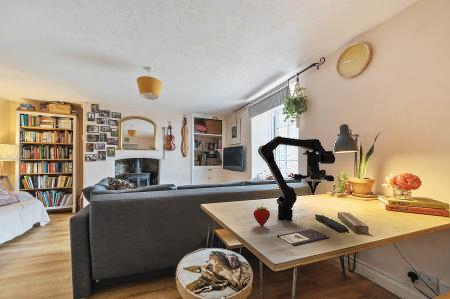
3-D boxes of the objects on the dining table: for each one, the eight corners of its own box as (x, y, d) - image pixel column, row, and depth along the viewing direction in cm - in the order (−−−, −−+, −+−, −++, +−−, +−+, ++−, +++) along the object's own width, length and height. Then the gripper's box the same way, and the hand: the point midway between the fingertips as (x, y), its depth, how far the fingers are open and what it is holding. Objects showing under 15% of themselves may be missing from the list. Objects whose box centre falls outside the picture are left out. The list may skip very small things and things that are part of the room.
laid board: (353, 232, 86) (353, 224, 86) (337, 217, 106) (337, 211, 106) (368, 233, 85) (368, 225, 85) (349, 218, 105) (349, 212, 105)
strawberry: (251, 224, 94) (251, 202, 94) (266, 223, 95) (266, 201, 96) (256, 228, 88) (256, 205, 88) (272, 227, 90) (272, 204, 90)
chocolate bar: (329, 236, 80) (293, 244, 72) (329, 239, 80) (293, 247, 72) (311, 228, 88) (277, 235, 80) (311, 231, 88) (277, 237, 80)
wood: (356, 234, 85) (356, 226, 86) (339, 234, 85) (340, 226, 85) (324, 217, 107) (324, 211, 108) (311, 217, 107) (311, 212, 107)
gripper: (295, 164, 99) (295, 196, 99) (338, 165, 95) (338, 198, 95) (293, 163, 110) (292, 192, 109) (330, 164, 106) (330, 194, 106)
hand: (312, 194), depth 105 cm, fingers closed
